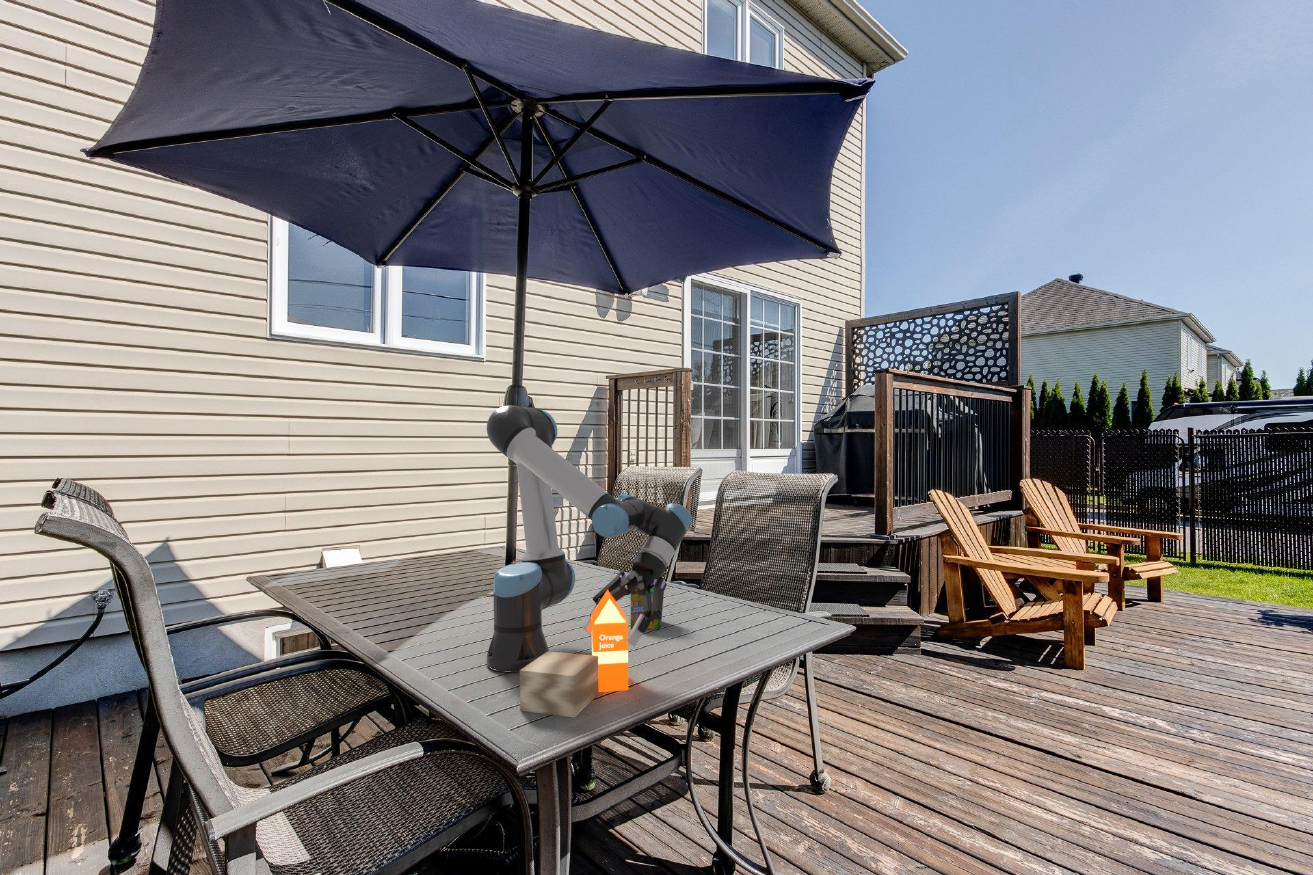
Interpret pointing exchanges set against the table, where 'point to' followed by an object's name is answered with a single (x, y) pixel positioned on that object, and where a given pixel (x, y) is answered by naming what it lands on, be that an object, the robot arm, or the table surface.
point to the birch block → (559, 683)
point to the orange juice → (610, 644)
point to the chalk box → (642, 611)
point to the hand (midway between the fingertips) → (608, 637)
